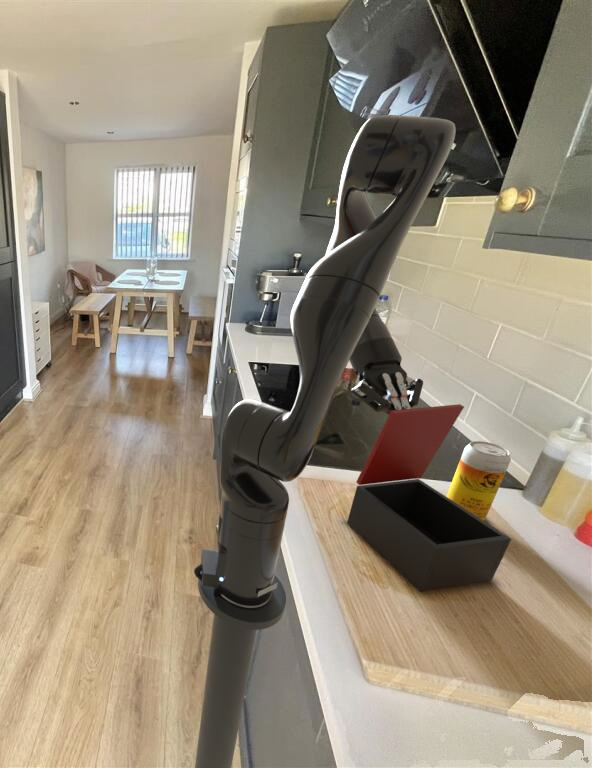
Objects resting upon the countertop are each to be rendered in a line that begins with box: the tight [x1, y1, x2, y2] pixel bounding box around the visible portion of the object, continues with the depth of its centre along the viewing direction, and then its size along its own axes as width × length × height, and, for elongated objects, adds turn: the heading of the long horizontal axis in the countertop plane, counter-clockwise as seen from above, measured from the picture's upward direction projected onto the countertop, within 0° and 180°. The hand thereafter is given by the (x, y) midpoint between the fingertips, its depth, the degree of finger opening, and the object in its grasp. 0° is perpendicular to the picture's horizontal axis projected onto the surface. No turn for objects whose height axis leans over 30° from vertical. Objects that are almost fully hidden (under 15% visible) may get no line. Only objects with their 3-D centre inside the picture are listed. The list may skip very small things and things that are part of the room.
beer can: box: [445, 440, 512, 522], centre depth 75 cm, size 6×6×15 cm
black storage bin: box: [346, 478, 512, 593], centre depth 68 cm, size 16×13×9 cm
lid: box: [355, 403, 465, 486], centre depth 69 cm, size 16×13×1 cm
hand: (407, 432), depth 69 cm, fingers closed
